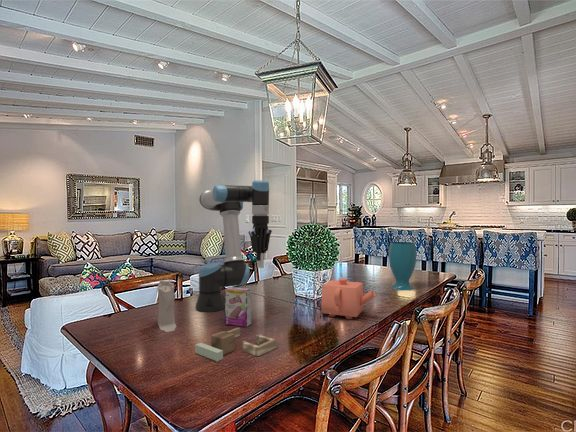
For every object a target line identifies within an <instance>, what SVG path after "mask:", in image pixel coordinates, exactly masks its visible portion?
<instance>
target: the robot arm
mask: <svg viewBox="0 0 576 432" xmlns="http://www.w3.org/2000/svg"><path fill="white" fill-rule="evenodd" d="M212 188H213V189H208V190H205V191H203V192H202V193H201V194H200V196H199V199H198V200H199V204H200V205H201V207H203V208H204V209H206V210H209V211H215V212H219V215H220V217H222V223H223V224H222V225H223V236H224V237H223V238H224V239H223V240H224V247H225V248H224V249H225V250H224V251H225V259H224V261H223V264H222V263H221V262H211V263H207V264H203V265H201V266H200V267H199V269H198V297H197V301H196V303H195V310H196V311H199V312H203V313H213V312H218V311H222V310H225V300H224V299H225V298H224V296H223V293H222V288H229V287H239V286H244V285H246V284H247V283H248V281H249V278H250V266H249V263H246V261H245V260H246V259H244V258H243V256H242V248H241V247H242V246H241V245H242V244H241V235H240V224H239V215H240V214H241V211H242V210H243V209H244V203H251V214H252V216H251V223H252V229H251V230H249V231H248V235H249V237H250V243H251V249H252V252H253V253H254V254H255V256H256V258H255V261H256V267H257V269H258V268H259V269H262V268H263V269H264V267H265V265H264V263H265V262H264V260H265V254H266V253H267V251H268V250H269V246H270V245H269V244H270V239H271V234H272V232H273V230H272V229H269V226H268V224H269V222H270V216H269V214H270V211H269V210H270V182H269V181H268V180H264V179H263V180H262V179H261V180H260V179H259V180H257V179H256V180H253V181H252V183H251V185H232V184H231V185H228V184H227V185H226V184H216V185H214V186H213V187H212Z"/></svg>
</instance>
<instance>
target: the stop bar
mask: <svg viewBox="0 0 576 432" xmlns="http://www.w3.org/2000/svg"><path fill="white" fill-rule="evenodd" d="M194 348H195V350H194V351H195V352H194V353H195V354H197V355H199V356H202V357H205V358H207V359H210V360H212V361H214V362H215V361H216V362H219V361H223V360H224V355H223V350H220V349H217V348H214V347H212V346H211V345H210V344H209V345H208V344H206V343H203V342H199V343H196V344H195V345H194Z"/></svg>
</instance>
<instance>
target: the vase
mask: <svg viewBox="0 0 576 432" xmlns="http://www.w3.org/2000/svg"><path fill="white" fill-rule="evenodd" d="M416 247H417V246H416V243H415V242H408V241H392V242H389V247H388V261H389V262H388V264H389V267H390V270H391V272H392V274H393V276H394V279H395V283H394V284H393V285H392V286H390V288H391V289H393V290H397V291H413V290H415V288H414V287H413V286H412V285H411V284H410V280H411V277H412V275H413V274H414V271H415V269H416V263H417V256H418V255H417V248H416Z"/></svg>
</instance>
